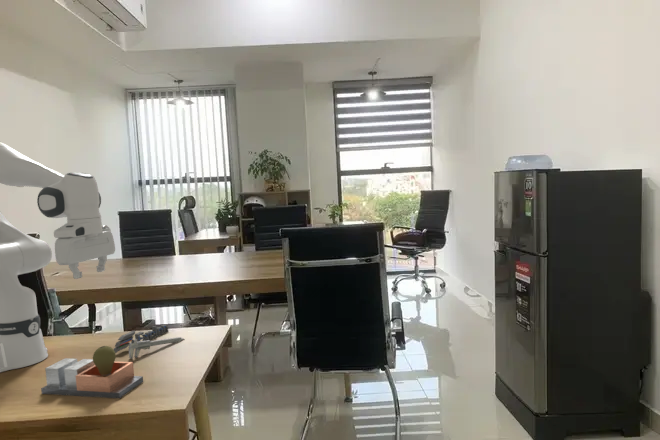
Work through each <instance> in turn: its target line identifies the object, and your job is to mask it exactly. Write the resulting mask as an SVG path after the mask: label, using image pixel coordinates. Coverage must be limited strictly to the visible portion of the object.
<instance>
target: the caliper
mask: <svg viewBox="0 0 660 440" xmlns="http://www.w3.org/2000/svg"><path fill="white" fill-rule="evenodd" d="M184 340H185V338H183V337H181V336H178V337H172V338H171V337H169V338H164V339H157V340H151V339H150V340H147V341H142V340H140V341H139V342H137V339H135V338H133V339H132V341H130V342H129V343H130V344H129V346H128V356H129V357H128V358H129V359H131V360H133V358H138V357H139V354H140V352H141V350H150V348H151V347H154V346H161V345H168V344H174V343H179V342H182V341H184ZM133 356H134V357H133Z"/></svg>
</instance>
